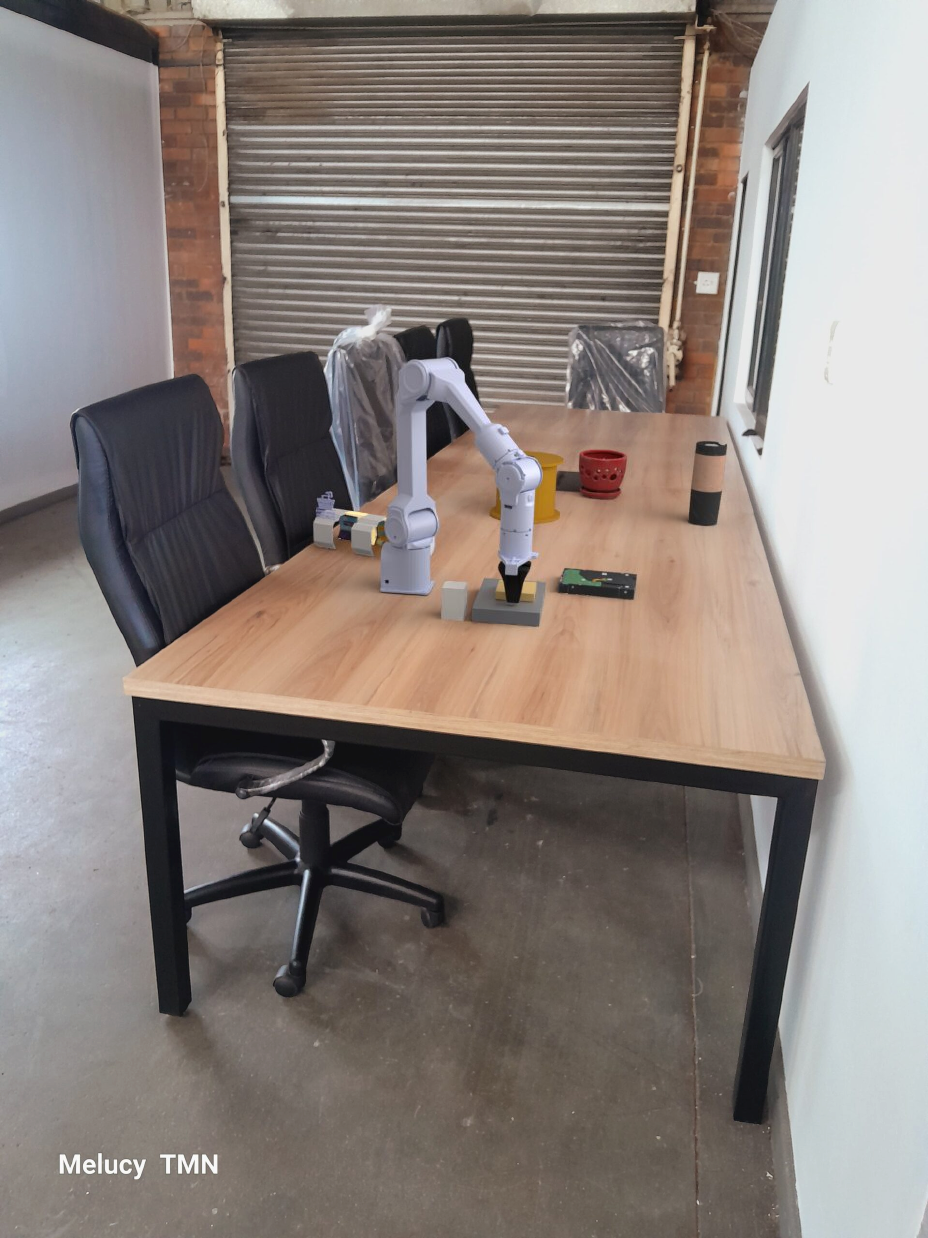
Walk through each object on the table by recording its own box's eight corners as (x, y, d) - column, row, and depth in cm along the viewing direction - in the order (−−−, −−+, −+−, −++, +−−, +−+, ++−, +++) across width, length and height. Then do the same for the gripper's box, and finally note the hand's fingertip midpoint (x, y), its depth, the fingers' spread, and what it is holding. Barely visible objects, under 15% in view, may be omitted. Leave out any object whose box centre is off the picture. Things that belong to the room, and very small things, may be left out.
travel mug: (686, 524, 239) (695, 444, 233) (687, 517, 246) (696, 439, 240) (718, 527, 238) (727, 447, 231) (718, 520, 245) (727, 441, 238)
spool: (562, 524, 236) (566, 464, 231) (489, 522, 237) (492, 462, 231) (557, 507, 253) (560, 451, 248) (489, 505, 253) (491, 449, 248)
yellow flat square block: (495, 599, 174) (495, 591, 173) (499, 587, 180) (499, 579, 180) (533, 601, 173) (533, 594, 172) (536, 589, 179) (536, 582, 179)
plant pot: (567, 492, 271) (570, 450, 266) (607, 489, 276) (610, 447, 272) (592, 502, 259) (595, 458, 255) (632, 499, 265) (636, 456, 261)
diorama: (313, 548, 212) (312, 490, 207) (340, 538, 220) (339, 482, 216) (410, 566, 201) (411, 505, 196) (434, 555, 209) (435, 496, 205)
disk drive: (635, 586, 193) (562, 579, 196) (637, 573, 192) (563, 566, 195) (633, 603, 184) (557, 595, 186) (635, 589, 183) (558, 581, 185)
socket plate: (471, 621, 170) (472, 608, 169) (483, 589, 187) (484, 577, 186) (539, 626, 168) (539, 613, 167) (545, 594, 185) (545, 582, 184)
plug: (441, 619, 170) (441, 587, 168) (444, 612, 174) (445, 580, 172) (463, 621, 170) (464, 589, 168) (466, 613, 174) (467, 582, 172)
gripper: (536, 540, 159) (532, 617, 163) (542, 519, 172) (538, 590, 177) (494, 537, 160) (491, 614, 164) (503, 516, 173) (500, 588, 178)
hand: (513, 601), depth 171 cm, fingers closed
